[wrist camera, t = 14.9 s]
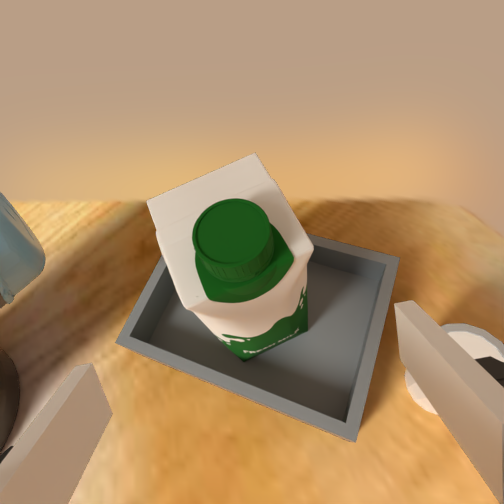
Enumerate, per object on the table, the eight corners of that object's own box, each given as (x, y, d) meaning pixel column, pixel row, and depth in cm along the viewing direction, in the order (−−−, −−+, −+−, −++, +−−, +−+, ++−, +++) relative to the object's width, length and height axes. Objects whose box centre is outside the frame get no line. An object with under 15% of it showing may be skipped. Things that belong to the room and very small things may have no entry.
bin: (138, 353, 37) (115, 342, 33) (201, 226, 43) (189, 203, 39) (349, 441, 31) (355, 442, 27) (389, 278, 37) (400, 257, 33)
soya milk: (238, 375, 34) (161, 310, 16) (206, 294, 38) (116, 174, 21) (321, 335, 35) (333, 230, 17) (280, 260, 39) (255, 113, 21)
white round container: (458, 335, 34) (491, 313, 28) (495, 414, 31) (542, 409, 24) (386, 351, 34) (403, 333, 28) (414, 431, 31) (441, 430, 25)
